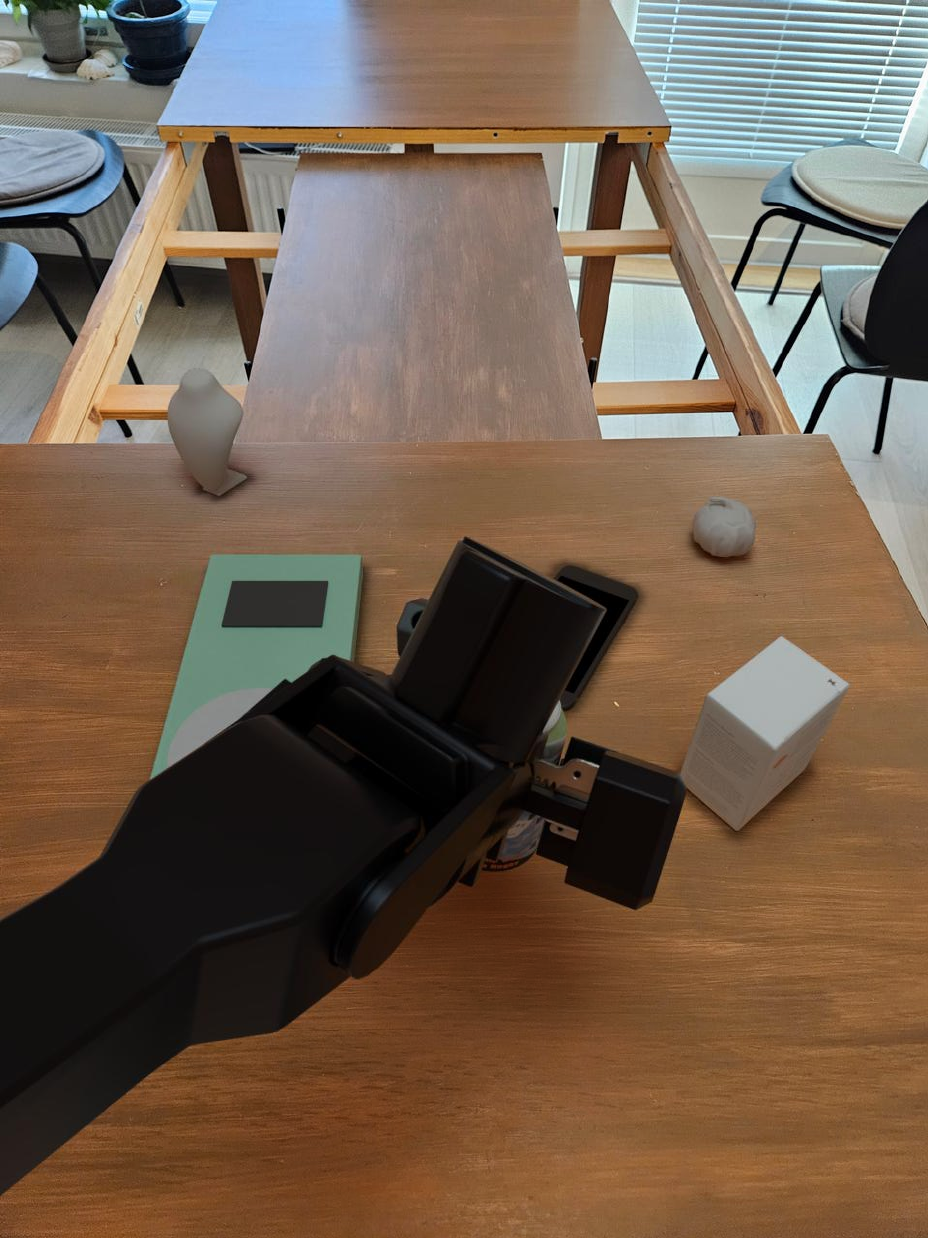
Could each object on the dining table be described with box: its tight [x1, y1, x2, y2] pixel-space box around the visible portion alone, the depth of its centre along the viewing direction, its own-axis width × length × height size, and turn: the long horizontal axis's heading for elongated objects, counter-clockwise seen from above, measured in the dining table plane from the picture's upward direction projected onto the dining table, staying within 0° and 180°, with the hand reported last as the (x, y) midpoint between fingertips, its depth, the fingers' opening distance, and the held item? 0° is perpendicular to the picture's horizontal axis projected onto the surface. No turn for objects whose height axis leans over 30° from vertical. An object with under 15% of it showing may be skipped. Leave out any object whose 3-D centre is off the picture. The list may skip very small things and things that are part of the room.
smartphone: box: [553, 564, 639, 712], centre depth 74 cm, size 7×15×1 cm, turn 151°
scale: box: [149, 553, 364, 780], centre depth 69 cm, size 26×13×3 cm, turn 0°
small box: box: [679, 635, 851, 832], centre depth 61 cm, size 8×6×10 cm
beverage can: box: [481, 700, 568, 873], centre depth 50 cm, size 6×7×12 cm
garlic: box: [691, 495, 757, 558], centre depth 79 cm, size 6×5×5 cm
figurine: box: [166, 367, 248, 497], centre depth 82 cm, size 8×5×12 cm
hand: (513, 750), depth 50 cm, fingers closed on beverage can, 6 cm apart
